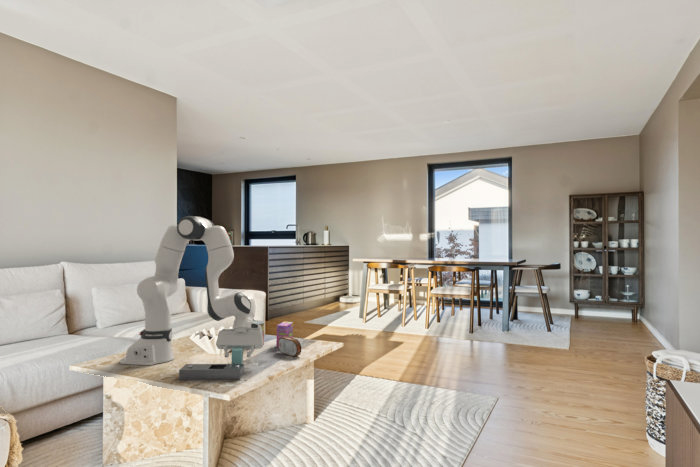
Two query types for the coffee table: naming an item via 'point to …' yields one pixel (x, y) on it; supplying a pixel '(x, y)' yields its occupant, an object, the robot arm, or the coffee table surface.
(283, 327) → the box
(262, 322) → the canned food
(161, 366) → the coffee table surface
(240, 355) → the peg
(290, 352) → the tin
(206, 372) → the grey slotted base
